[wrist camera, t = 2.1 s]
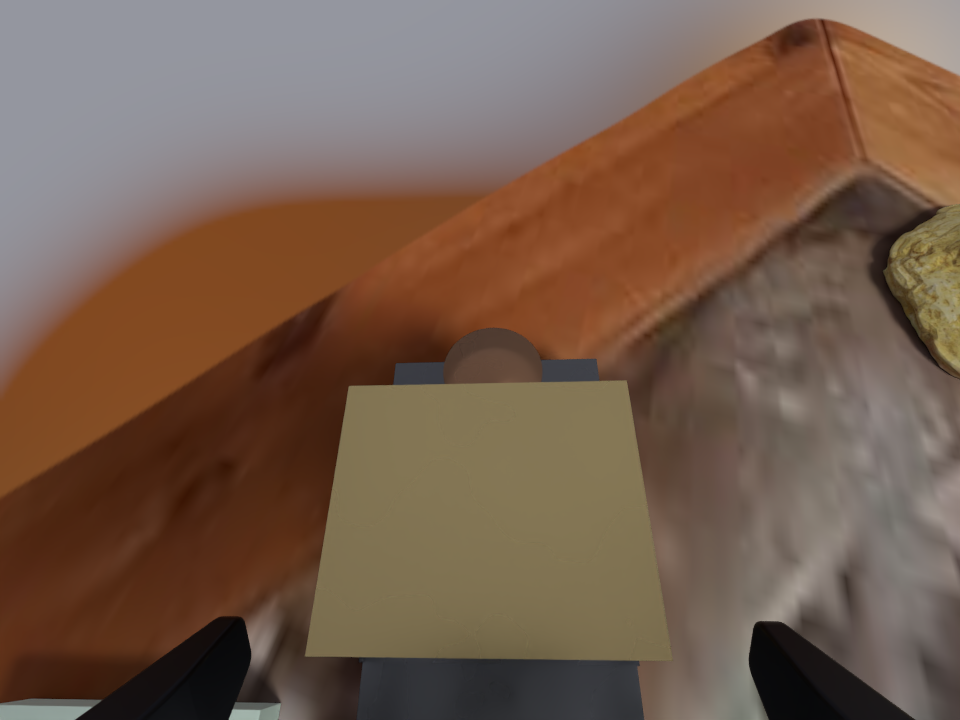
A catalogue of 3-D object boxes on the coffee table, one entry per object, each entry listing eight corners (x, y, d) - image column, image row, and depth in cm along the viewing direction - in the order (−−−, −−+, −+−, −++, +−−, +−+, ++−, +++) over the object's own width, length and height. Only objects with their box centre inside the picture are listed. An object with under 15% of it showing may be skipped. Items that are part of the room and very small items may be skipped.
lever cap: (591, 643, 14) (673, 661, 7) (406, 641, 14) (305, 656, 7) (576, 486, 16) (626, 380, 9) (417, 487, 16) (349, 386, 9)
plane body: (690, 1302, 10) (877, 2006, 5) (330, 1272, 11) (157, 1890, 5) (585, 391, 21) (610, 315, 16) (409, 395, 22) (377, 321, 16)
